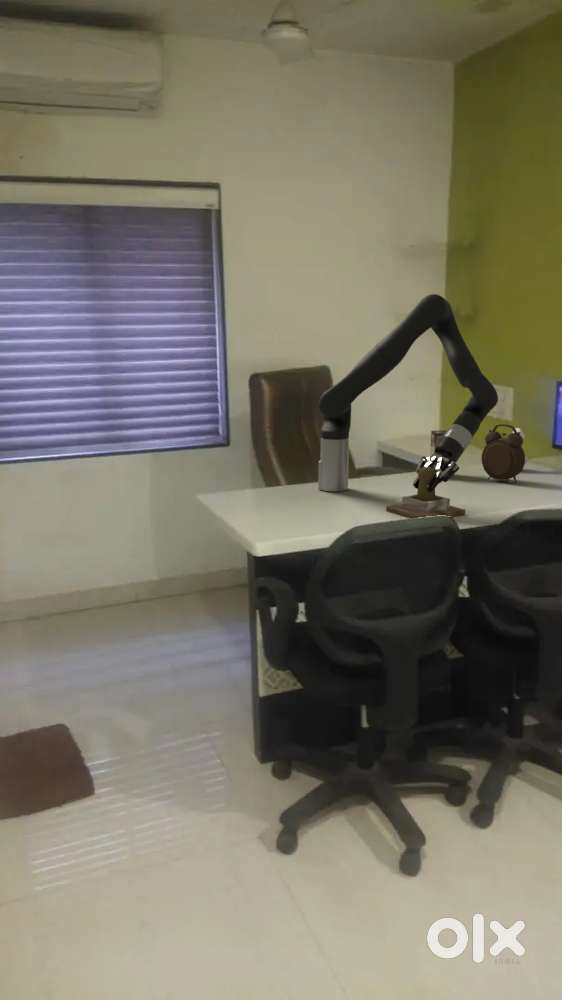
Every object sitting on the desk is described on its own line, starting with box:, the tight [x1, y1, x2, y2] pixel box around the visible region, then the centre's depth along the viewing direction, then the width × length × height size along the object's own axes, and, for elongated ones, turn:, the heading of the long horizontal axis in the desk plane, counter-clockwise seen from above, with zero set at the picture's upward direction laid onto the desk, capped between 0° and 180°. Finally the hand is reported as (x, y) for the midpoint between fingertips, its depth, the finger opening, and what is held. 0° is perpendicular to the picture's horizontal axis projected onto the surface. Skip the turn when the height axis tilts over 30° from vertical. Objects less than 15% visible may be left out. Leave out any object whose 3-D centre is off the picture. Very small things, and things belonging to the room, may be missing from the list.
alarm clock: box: [481, 423, 526, 484], centre depth 265 cm, size 14×7×20 cm, turn 40°
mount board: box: [385, 494, 466, 519], centre depth 222 cm, size 16×16×4 cm
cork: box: [416, 467, 436, 502], centre depth 221 cm, size 6×6×11 cm
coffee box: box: [429, 430, 448, 477], centre depth 275 cm, size 9×6×16 cm
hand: (421, 488), depth 220 cm, fingers closed on cork, 5 cm apart
